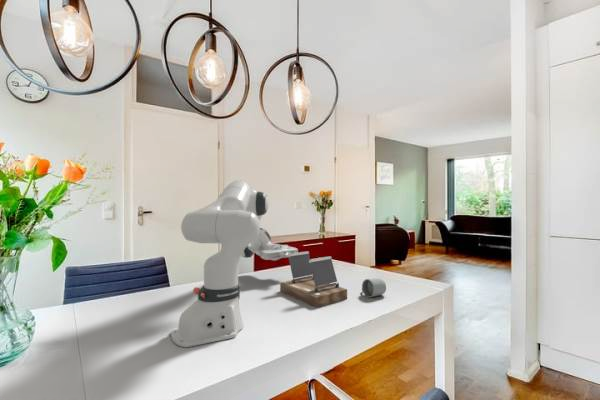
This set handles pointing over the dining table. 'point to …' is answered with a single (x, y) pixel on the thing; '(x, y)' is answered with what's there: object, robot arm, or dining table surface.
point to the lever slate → (323, 271)
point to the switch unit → (313, 291)
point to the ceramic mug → (373, 287)
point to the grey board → (300, 264)
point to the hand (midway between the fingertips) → (288, 255)
